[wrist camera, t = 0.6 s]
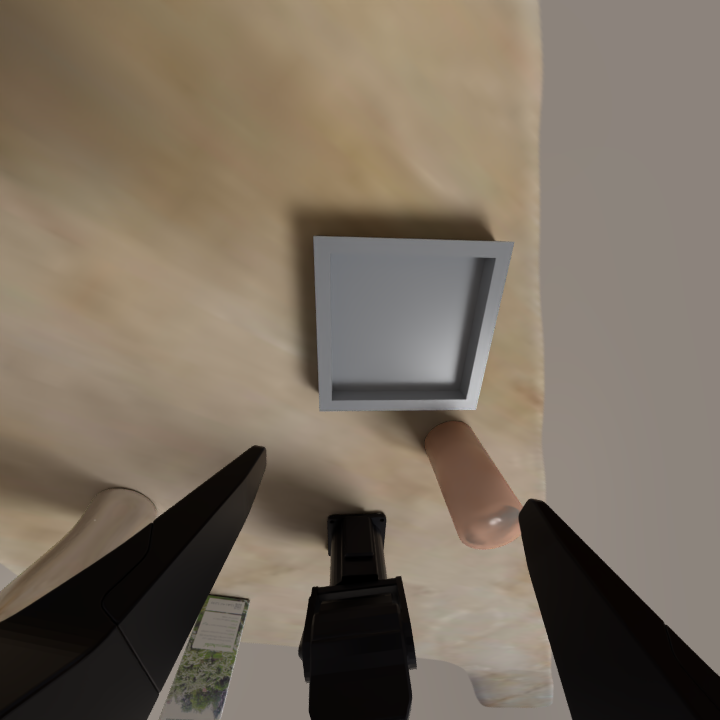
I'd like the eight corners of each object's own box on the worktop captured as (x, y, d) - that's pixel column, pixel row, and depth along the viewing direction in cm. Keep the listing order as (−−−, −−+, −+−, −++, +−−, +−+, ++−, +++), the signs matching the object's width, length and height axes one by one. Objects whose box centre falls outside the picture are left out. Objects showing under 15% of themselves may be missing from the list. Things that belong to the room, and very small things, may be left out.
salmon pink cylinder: (469, 460, 30) (518, 548, 21) (421, 461, 29) (452, 550, 21) (478, 420, 28) (536, 500, 19) (427, 421, 27) (464, 502, 19)
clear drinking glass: (176, 510, 30) (38, 742, 16) (135, 540, 32) (-24, 775, 18) (115, 473, 28) (-107, 709, 14) (73, 507, 29) (-165, 751, 15)
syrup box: (199, 617, 38) (125, 819, 25) (206, 592, 36) (128, 799, 23) (243, 621, 39) (193, 818, 26) (251, 597, 37) (202, 799, 24)
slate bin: (464, 394, 26) (475, 409, 24) (321, 395, 25) (319, 411, 23) (495, 240, 21) (514, 241, 19) (316, 235, 20) (313, 236, 18)
